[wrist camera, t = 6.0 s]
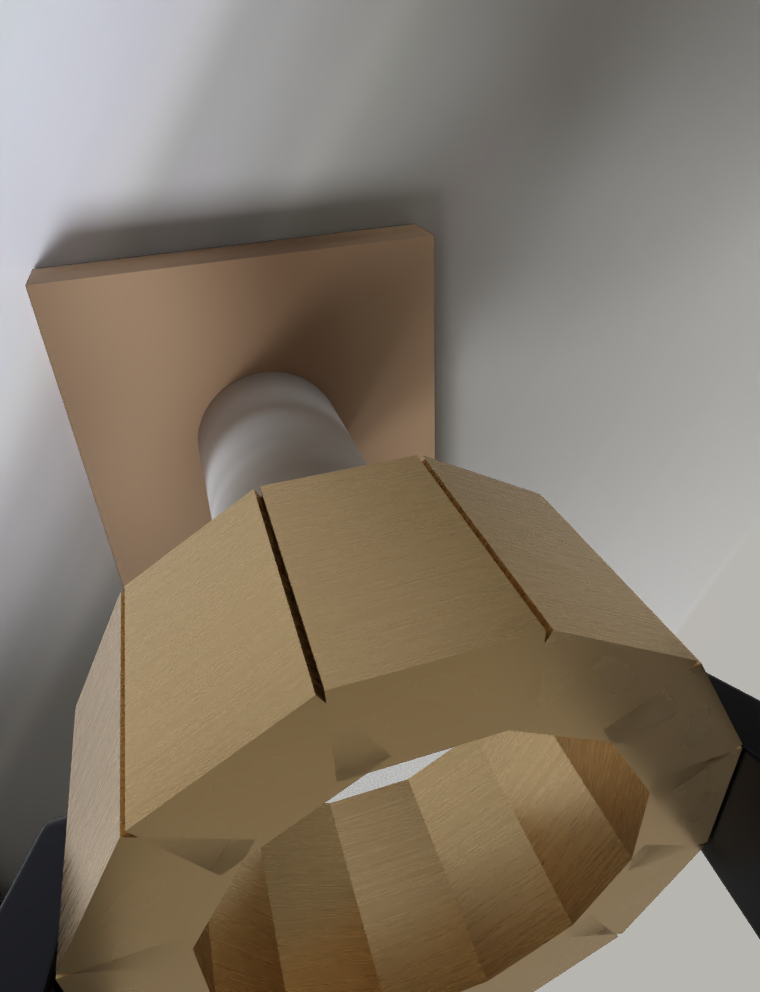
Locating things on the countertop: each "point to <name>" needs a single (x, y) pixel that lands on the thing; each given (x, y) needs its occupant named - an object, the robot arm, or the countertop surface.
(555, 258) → the countertop surface
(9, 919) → the robot arm
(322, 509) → the ring
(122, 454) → the peg stand
